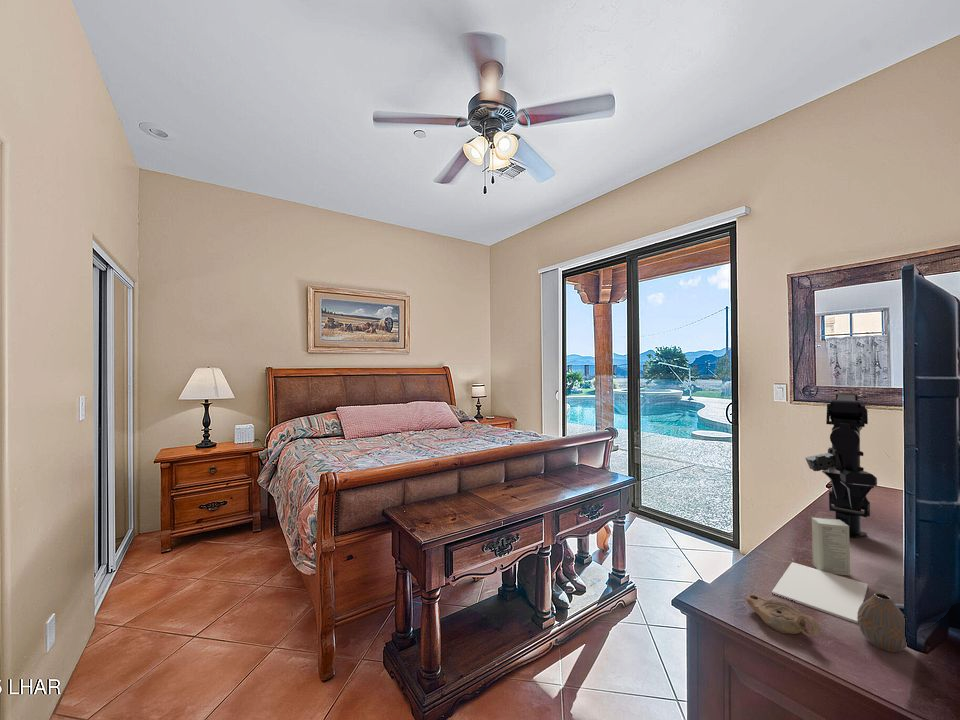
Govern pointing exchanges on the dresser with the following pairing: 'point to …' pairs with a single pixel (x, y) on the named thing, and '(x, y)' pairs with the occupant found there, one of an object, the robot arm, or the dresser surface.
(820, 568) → the skincare box
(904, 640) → the vase
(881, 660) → the dresser surface
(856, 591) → the notebook
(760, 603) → the oil lamp
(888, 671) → the dresser surface
